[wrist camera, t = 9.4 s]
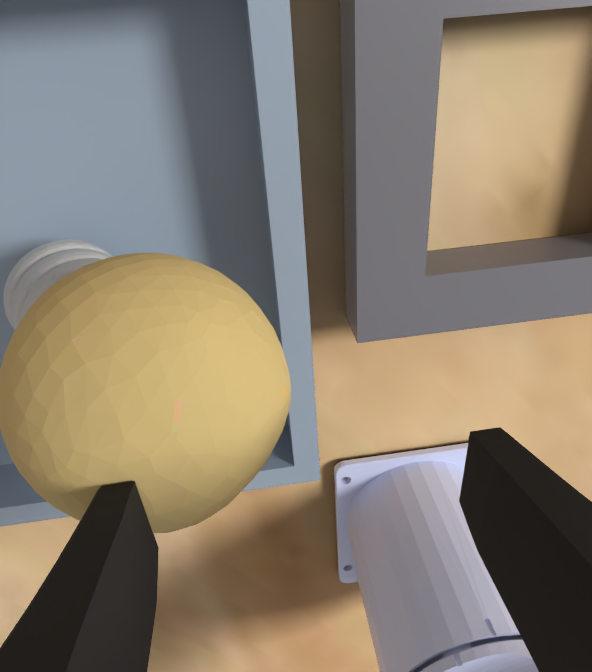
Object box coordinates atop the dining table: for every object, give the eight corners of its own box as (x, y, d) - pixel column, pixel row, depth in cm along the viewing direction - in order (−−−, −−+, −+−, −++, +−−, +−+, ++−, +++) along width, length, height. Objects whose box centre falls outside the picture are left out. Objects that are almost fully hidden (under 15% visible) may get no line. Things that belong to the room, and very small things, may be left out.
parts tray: (309, 430, 24) (320, 479, 21) (-52, 480, 23) (-87, 538, 20) (273, -64, 14) (284, -82, 11) (-363, -17, 13) (-505, -26, 10)
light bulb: (72, 404, 19) (211, 615, 12) (-110, 311, 14) (-51, 570, 7) (187, 273, 20) (377, 402, 13) (49, 143, 15) (234, 240, 8)
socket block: (639, 279, 21) (675, 302, 20) (346, 316, 21) (357, 343, 19) (763, -109, 15) (832, -125, 13) (338, -79, 14) (354, -91, 12)
